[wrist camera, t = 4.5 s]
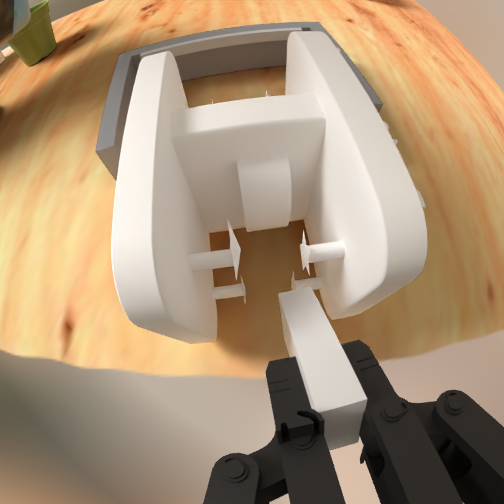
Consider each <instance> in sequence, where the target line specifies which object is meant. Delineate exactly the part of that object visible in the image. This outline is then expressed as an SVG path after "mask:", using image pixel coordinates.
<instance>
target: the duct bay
mask: <svg viewBox="0 0 504 504" xmlns="http://www.w3.org/2000/svg"><path fill="white" fill-rule="evenodd" d="M293 31H320V32H323V33H325V34H326V35H327V36H328V37H329V38H330V40H331V41H332V42H333V44H334V45H335V46H336V48H339V49H340V50H341V51H340V53H341V55H342V56H343V58H344V59H345V60H346V62H347V63H348V65H349V66H350V68H351V69H352V71H353V72H354V73H355V75H356V77H357V78H358V80H359V81H360V83H361V85H362V86H363V88H364V89H365V91H366V93H367V94H368V95H369V98H370V99H371V101H372V103H373V104H374V106H375V108H376V109H377V111H378V113H379V112H380V110H381V107H382V104H383V103H382V102H381V100H380V99H379V97H378V96H377V95H376V93H375V92H374V90H373V89H372V87H371V86H370V85H369V83H368V82H367V80H366V79H365V78H364V76H363V75H362V74H361V72H360V71H359V70H358V68H357V67H356V66H355V64H354V63H353V62H352V61H351V59H350V58H349V57H348V55H347V54H346V53H345V52H344V51H343V49H342V48H341V47H340V46H339V44H338V43H337V42H336V41H335V40H334V39H333V37H332V36H331V35H330V34H329V33H328V32H327V31H326V29H325V28H324V27H323V26H322V25H321V24H320V23H319V22H289V23H271V24H259V25H249V26H240V27H232V28H225V29H219V30H213V31H207V32H202V33H197V34H192V35H187V36H182V37H178V38H174V39H170V40H166V41H162V42H158V43H154V44H151V45H147V46H144V47H140V48H137V49H134V50H131V51H128V52H125V53H122V54H119V57H118V61H117V64H116V67H115V70H114V74H113V77H112V81H111V84H110V88H109V92H108V95H107V99H106V103H105V107H104V112H103V116H102V121H101V125H100V130H99V135H98V140H97V145H96V151H95V152H96V153H97V155H98V156H99V157H100V159H101V160H102V162H103V163H104V165H105V166H106V167H107V169H108V170H109V172H110V173H111V174H112V176H113V177H114V179H115V180H116V181H117V174H118V167H119V160H120V153H121V147H122V141H123V135H124V130H125V125H126V119H127V114H128V110H129V105H130V100H131V96H132V92H133V87H134V83H135V79H136V75H137V71H138V68H139V64H140V62H141V60H142V59H143V58H144V57H146V56H150V55H154V54H158V53H162V52H166V51H170V52H171V53H172V54H173V56H174V58H175V60H176V63H177V67H178V70H179V74H180V78H181V81H186V80H191V79H195V78H200V77H205V76H210V75H216V74H221V73H227V72H234V71H240V70H247V69H255V68H264V67H273V66H284V65H286V63H287V41H288V37H289V35H290V33H291V32H293Z"/></svg>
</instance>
